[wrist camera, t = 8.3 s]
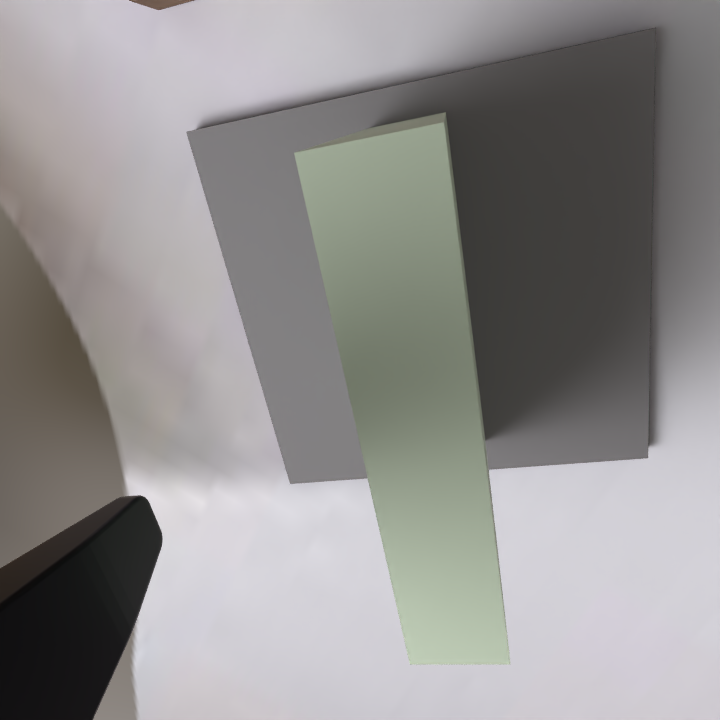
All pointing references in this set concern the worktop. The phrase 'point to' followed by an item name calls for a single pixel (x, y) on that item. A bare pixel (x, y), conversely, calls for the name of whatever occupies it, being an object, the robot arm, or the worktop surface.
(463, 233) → the rubber mat
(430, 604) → the green board
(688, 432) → the worktop surface
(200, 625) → the worktop surface
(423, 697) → the worktop surface
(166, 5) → the walnut rack
